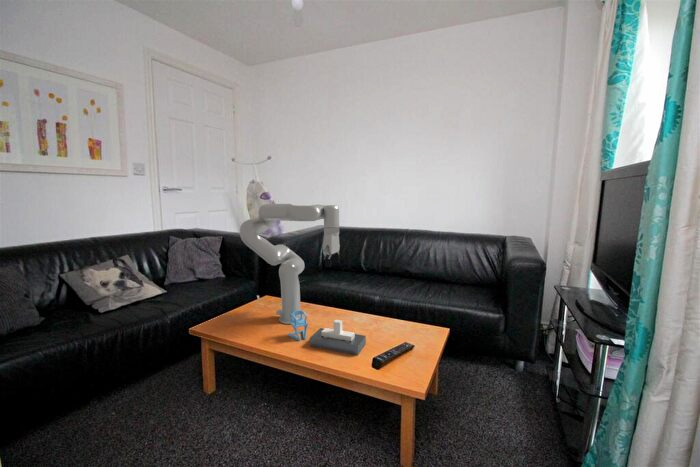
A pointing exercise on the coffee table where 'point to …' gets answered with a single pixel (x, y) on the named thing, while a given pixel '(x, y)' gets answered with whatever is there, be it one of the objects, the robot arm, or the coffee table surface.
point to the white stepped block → (338, 332)
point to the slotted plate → (338, 343)
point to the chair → (298, 325)
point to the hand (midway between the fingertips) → (332, 264)
